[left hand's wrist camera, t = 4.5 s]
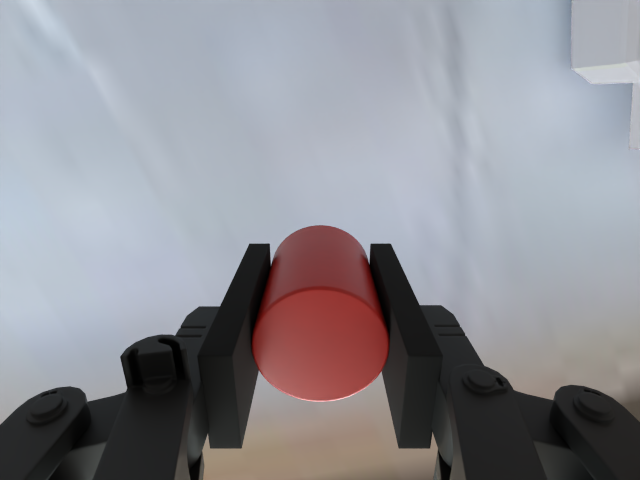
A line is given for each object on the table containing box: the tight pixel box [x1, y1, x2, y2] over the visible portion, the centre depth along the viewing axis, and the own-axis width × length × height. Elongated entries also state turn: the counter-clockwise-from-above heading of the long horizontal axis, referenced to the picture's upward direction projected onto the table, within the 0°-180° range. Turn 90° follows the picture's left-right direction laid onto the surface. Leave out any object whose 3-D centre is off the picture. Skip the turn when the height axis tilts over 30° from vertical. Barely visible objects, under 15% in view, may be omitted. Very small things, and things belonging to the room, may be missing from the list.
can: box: [251, 225, 389, 402], centre depth 13 cm, size 4×4×5 cm
